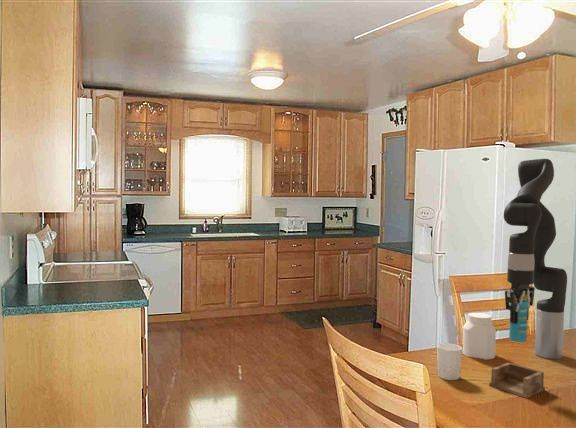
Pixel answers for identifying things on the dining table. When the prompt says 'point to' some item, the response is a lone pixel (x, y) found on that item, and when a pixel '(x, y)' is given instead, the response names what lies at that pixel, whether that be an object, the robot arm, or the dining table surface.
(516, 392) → the u rest
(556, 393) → the dining table surface
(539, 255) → the robot arm
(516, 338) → the tube
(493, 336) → the jar
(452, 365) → the white cup
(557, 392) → the dining table surface
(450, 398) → the dining table surface
